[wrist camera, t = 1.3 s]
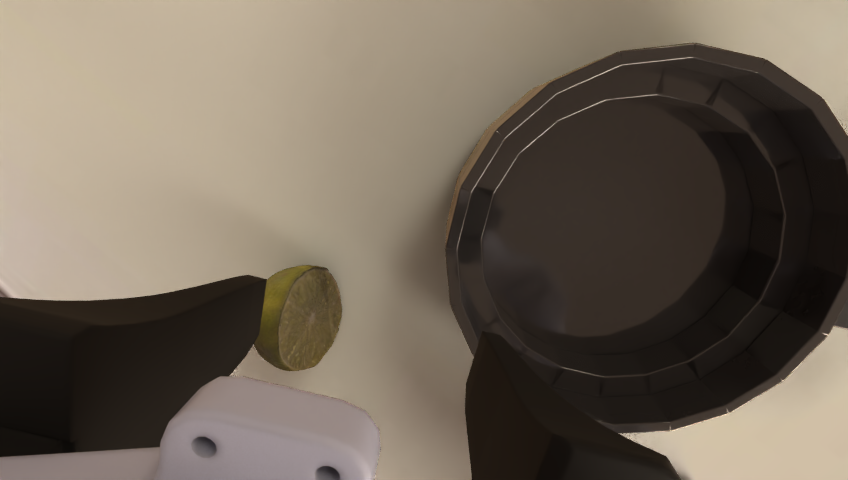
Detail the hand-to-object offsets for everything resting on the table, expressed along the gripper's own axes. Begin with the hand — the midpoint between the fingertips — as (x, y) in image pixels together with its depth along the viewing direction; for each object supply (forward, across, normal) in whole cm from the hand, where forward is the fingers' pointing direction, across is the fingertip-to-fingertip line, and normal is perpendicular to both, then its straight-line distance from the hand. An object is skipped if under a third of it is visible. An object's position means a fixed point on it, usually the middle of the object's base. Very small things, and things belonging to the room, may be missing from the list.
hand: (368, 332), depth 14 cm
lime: (+9, +4, +4) cm, 10 cm away
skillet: (+9, -10, -4) cm, 14 cm away
